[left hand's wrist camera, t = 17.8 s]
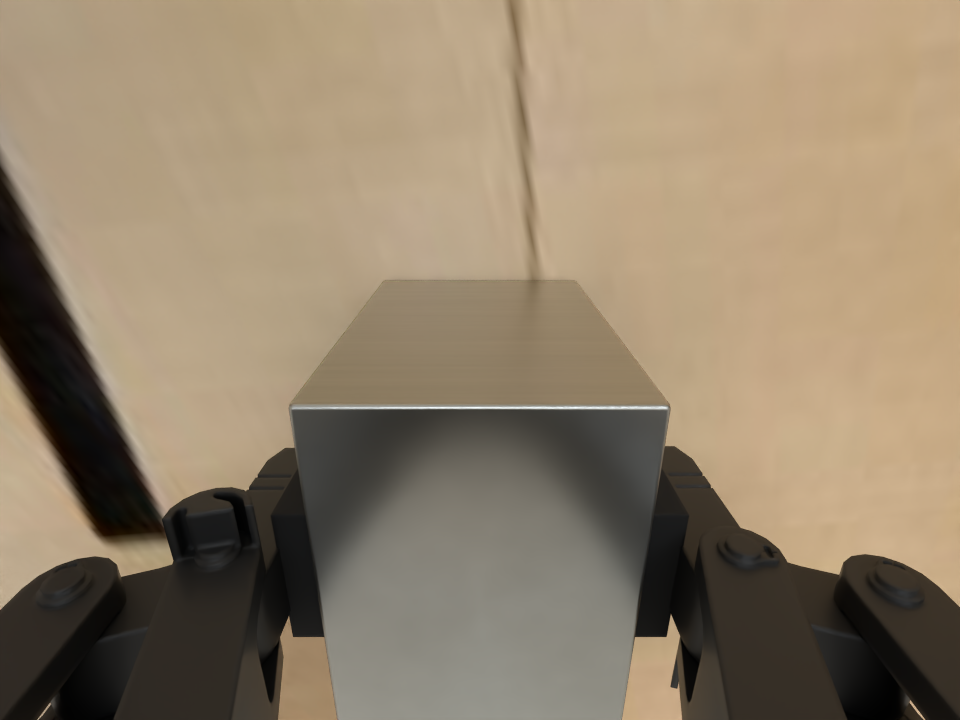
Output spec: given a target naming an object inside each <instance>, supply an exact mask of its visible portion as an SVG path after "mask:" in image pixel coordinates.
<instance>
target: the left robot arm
mask: <svg viewBox="0 0 960 720" xmlns="http://www.w3.org/2000/svg"><path fill="white" fill-rule="evenodd" d="M162 522H163V525H164V529H165V532H166V536H167V539H168V543H169V546H170V550H171V553H172V557H173V560H174V561H173V564H172V565H169V566H166V567H162V568H159V569H155V570H150V571H146V572H141V573H137V574H132V575H128V576H124V577H121V576H120V573H119V570H118V567H117V564H115V563H114V562H113V561H111V560H110V559H109V558H102V557H88V558H81V559H76V560H73V561H70V562H67V563H64V564H61V565H59V566H56V567H54V568H53V569H51V570H49V571H47V572H45V573H43V574H41V575H40V576H38V577H36V578H35V579H34V580H33V581H31V582H30V583H29V584H28V585H26V586H25V587H24V588H23V589H21V590H20V591H19V592H18V593H17V594H16V595H15V596H14V597H13V598H12V599H11V600H10V601H9V602H8V603H7V604H6V605H5V606H4V607H3V608H2V609H1V610H0V720H37V719H38V718H39V716H40V715H41V714H42V712H43V711H44V710H45V708H46V707H47V706H48V704H49V703H51V705H50V707H49V708H48V709H47V711H46V712H45V713H44V715H43V716H42V717H41V718H40V719H39V720H278V712H279V701H280V690H281V679H282V667H283V651H282V645H281V640H280V636H281V633H282V631H283V628H284V626H285V624H286V621H287V619H288V616H289V617H290V623H291V628H292V633H293V637H324V631H323V624H322V618H321V612H320V605H319V599H318V592H317V586H316V580H315V573H314V567H313V560H312V554H311V548H310V541H309V535H308V528H307V522H306V515H305V509H304V503H303V496H302V490H301V483H300V477H299V471H298V464H297V458H296V451H295V448H285V449H283V450H282V451H280V452H279V453H278V454H276V455H275V456H273V457H272V458H270V459H269V460H268V461H267V462H266V464H265V465H264V467H263V468H262V469H261V471H260V472H259V474H258V478H255V480H254V481H253V482H252V484H251V485H250V487H249V490H247V491H244V490H241V489H236V488H232V487H230V488H215V489H211V490H207V491H202V492H199V493H197V494H194V495H192V496H190V497H188V498H185V499H183V500H182V501H180V502H179V503H178V504H176V505H175V506H173V507H172V508H171V509H170V510H169V511H168V512H167V514H166V515H165V516H164V517H163V519H162ZM670 615H672V617H673V620H674V622H675V624H676V627H677V629H678V632H679V634H680V640H679V645H678V650H677V655H676V660H675V665H674V670H673V675H672V681H671V687H672V688H677V687H678V682H679V688H680V699H681V711H682V720H923V719H922V718H921V717H920V715H919V714H918V713H917V712H916V711H915V709H914V708H913V707H912V705H911V704H910V703H909V702H910V700H911V701H912V703H913V704H914V705H915V706H916V708H917V709H918V710H919V712H920V713H921V714H922V716H923V717H924V718H925V720H960V607H959V606H958V605H957V604H956V603H955V602H954V601H953V600H952V599H951V598H950V597H949V596H948V595H947V594H946V593H945V592H944V591H943V590H942V589H941V588H939V587H938V586H937V585H936V584H935V583H933V582H932V581H931V580H929V579H928V578H927V577H926V576H924V575H923V574H921V573H920V572H918V571H916V570H914V569H912V568H910V567H908V566H906V565H905V564H902V563H900V562H897V561H894V560H891V559H888V558H885V557H880V556H873V555H866V554H864V555H857V556H851V557H850V558H849V559H847V560H846V561H845V562H844V563H843V566H842V569H841V572H840V574H839V575H837V574H833V573H828V572H824V571H819V570H815V569H810V568H806V567H801V566H798V565H794V564H791V563H788V562H787V561H786V559H785V557H784V556H783V554H782V553H781V551H780V550H779V549H778V548H777V547H776V546H775V545H773V544H772V543H771V542H770V541H769V540H767V539H766V538H764V537H762V536H760V535H758V534H756V533H754V532H752V531H749V530H745V529H742V528H740V527H739V525H738V524H737V522H736V521H735V519H734V518H733V517H732V515H731V514H730V512H729V511H728V509H727V508H726V507H725V505H724V504H723V502H722V501H721V499H720V498H719V496H718V495H717V494H716V492H715V491H714V489H713V488H711V485H710V484H709V482H708V481H707V479H706V478H705V476H702V472H701V471H700V469H699V468H698V466H697V465H696V464H695V462H694V461H693V459H692V458H690V457H689V456H687V455H686V454H685V453H683V452H682V451H680V450H679V449H678V448H676V447H675V446H665V447H664V454H663V460H662V466H661V473H660V479H659V486H658V492H657V498H656V505H655V511H654V517H653V524H652V530H651V537H650V543H649V549H648V556H647V562H646V569H645V575H644V581H643V588H642V594H641V600H640V607H639V613H638V620H637V626H636V632H635V637H667V631H668V626H669V621H670Z"/></svg>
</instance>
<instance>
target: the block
mask: <svg viewBox="0 0 960 720" xmlns="http://www.w3.org/2000/svg"><path fill="white" fill-rule="evenodd" d="M670 409H671V407H670V404H669V403H668V402H667V400H666V399H665V398H664V396H663V395H662V394H661V392H660V391H659V390H658V388H657V387H656V386H655V384H654V383H653V382H652V380H651V379H650V378H649V377H648V375H647V374H646V373H645V371H644V370H643V369H642V367H641V366H640V365H639V363H638V362H637V361H636V359H635V358H634V357H633V355H632V354H631V353H630V351H629V350H628V349H627V348H626V346H625V345H624V344H623V342H622V341H621V340H620V338H619V337H618V336H617V334H616V333H615V332H614V330H613V329H612V328H611V326H610V325H609V324H608V322H607V321H606V320H605V319H604V317H603V316H602V315H601V313H600V312H599V311H598V309H597V308H596V307H595V305H594V304H593V303H592V301H591V300H590V299H589V297H588V296H587V295H586V293H585V292H584V291H583V290H582V288H581V287H580V286H579V284H578V283H577V282H576V281H383V283H382V284H381V285H380V286H379V288H378V289H377V290H376V292H375V293H374V294H373V296H372V297H371V298H370V300H369V301H368V302H367V303H366V305H365V306H364V307H363V309H362V310H361V311H360V313H359V314H358V315H357V317H356V318H355V319H354V321H353V322H352V323H351V324H350V326H349V327H348V328H347V330H346V331H345V332H344V334H343V335H342V336H341V338H340V339H339V340H338V342H337V343H336V344H335V345H334V347H333V348H332V349H331V351H330V352H329V353H328V355H327V356H326V357H325V359H324V360H323V361H322V362H321V364H320V365H319V366H318V368H317V369H316V370H315V372H314V373H313V374H312V376H311V377H310V378H309V380H308V381H307V382H306V383H305V385H304V386H303V387H302V389H301V390H300V391H299V393H298V394H297V395H296V397H295V398H294V399H293V401H292V402H291V403H290V405H289V413H290V419H291V426H292V432H293V439H294V445H295V451H296V458H297V464H298V471H299V477H300V483H301V490H302V496H303V503H304V509H305V515H306V522H307V528H308V535H309V541H310V548H311V554H312V560H313V567H314V573H315V580H316V586H317V592H318V599H319V605H320V612H321V618H322V624H323V631H324V637H325V644H326V650H327V656H328V663H329V669H330V676H331V682H332V688H333V695H334V701H335V708H336V714H337V720H622V715H623V709H624V703H625V696H626V690H627V683H628V677H629V671H630V664H631V658H632V651H633V645H634V639H635V632H636V626H637V620H638V613H639V607H640V600H641V594H642V588H643V581H644V575H645V569H646V562H647V556H648V549H649V543H650V537H651V530H652V524H653V517H654V511H655V505H656V498H657V492H658V486H659V479H660V473H661V466H662V460H663V454H664V447H665V441H666V435H667V428H668V422H669V415H670Z"/></svg>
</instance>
